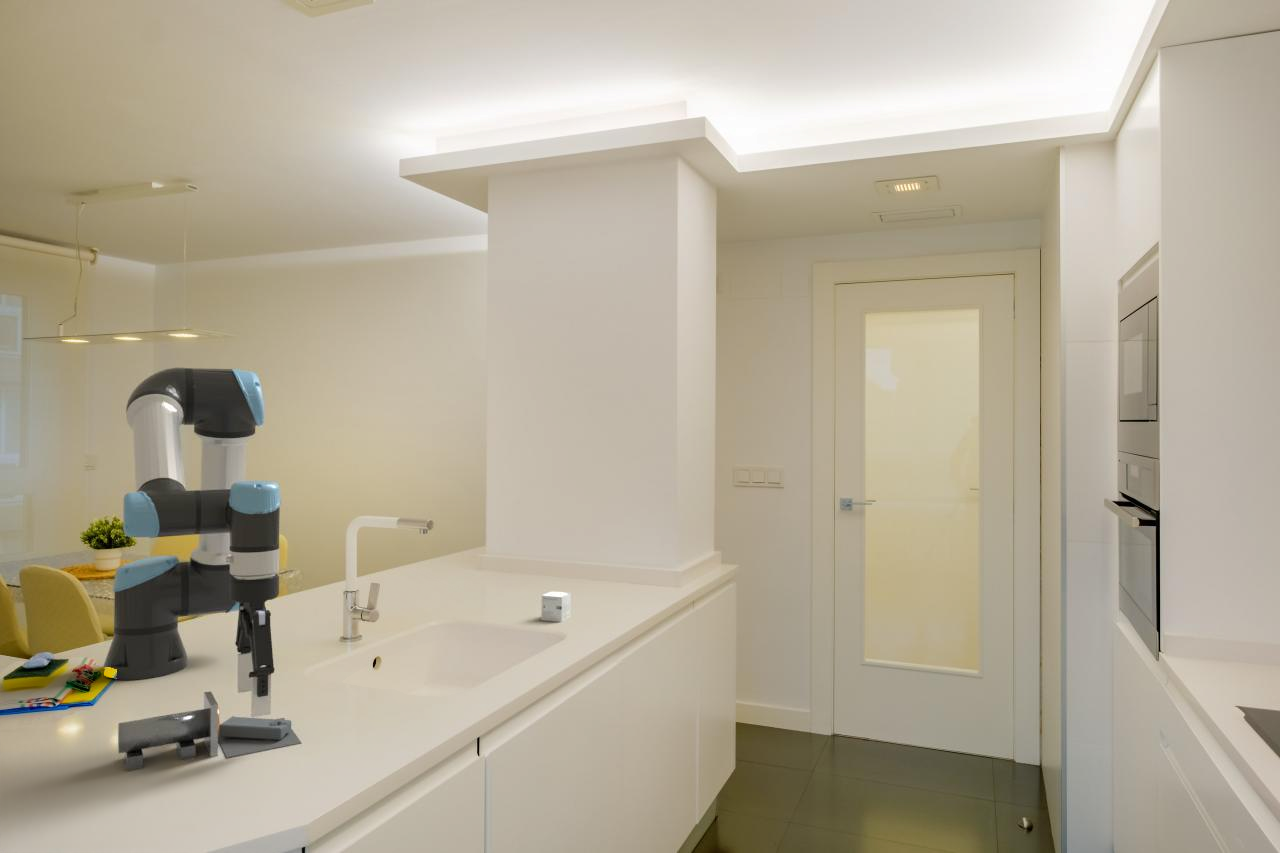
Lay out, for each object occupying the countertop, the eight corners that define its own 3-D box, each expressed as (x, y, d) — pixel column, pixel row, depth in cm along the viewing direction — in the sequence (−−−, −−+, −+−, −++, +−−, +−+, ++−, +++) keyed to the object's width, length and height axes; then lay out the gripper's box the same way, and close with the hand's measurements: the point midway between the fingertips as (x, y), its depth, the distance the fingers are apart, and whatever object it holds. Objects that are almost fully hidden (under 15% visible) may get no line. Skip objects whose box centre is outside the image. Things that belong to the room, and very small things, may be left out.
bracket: (231, 727, 140) (231, 716, 140) (291, 731, 139) (292, 719, 139) (218, 736, 136) (218, 724, 136) (280, 740, 136) (280, 728, 136)
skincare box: (540, 622, 221) (540, 595, 221) (550, 617, 226) (550, 590, 226) (561, 624, 219) (561, 596, 219) (571, 619, 224) (571, 592, 224)
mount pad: (214, 731, 141) (214, 730, 141) (283, 718, 147) (283, 717, 147) (226, 758, 129) (226, 757, 129) (301, 743, 135) (301, 742, 135)
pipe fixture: (117, 757, 129) (117, 705, 129) (213, 739, 137) (213, 690, 137) (119, 775, 123) (119, 720, 123) (220, 755, 130) (220, 704, 130)
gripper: (218, 565, 146) (217, 685, 146) (242, 591, 125) (241, 731, 126) (264, 561, 150) (263, 678, 150) (295, 585, 129) (293, 721, 130)
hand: (253, 702), depth 138 cm, fingers open, 13 cm apart
